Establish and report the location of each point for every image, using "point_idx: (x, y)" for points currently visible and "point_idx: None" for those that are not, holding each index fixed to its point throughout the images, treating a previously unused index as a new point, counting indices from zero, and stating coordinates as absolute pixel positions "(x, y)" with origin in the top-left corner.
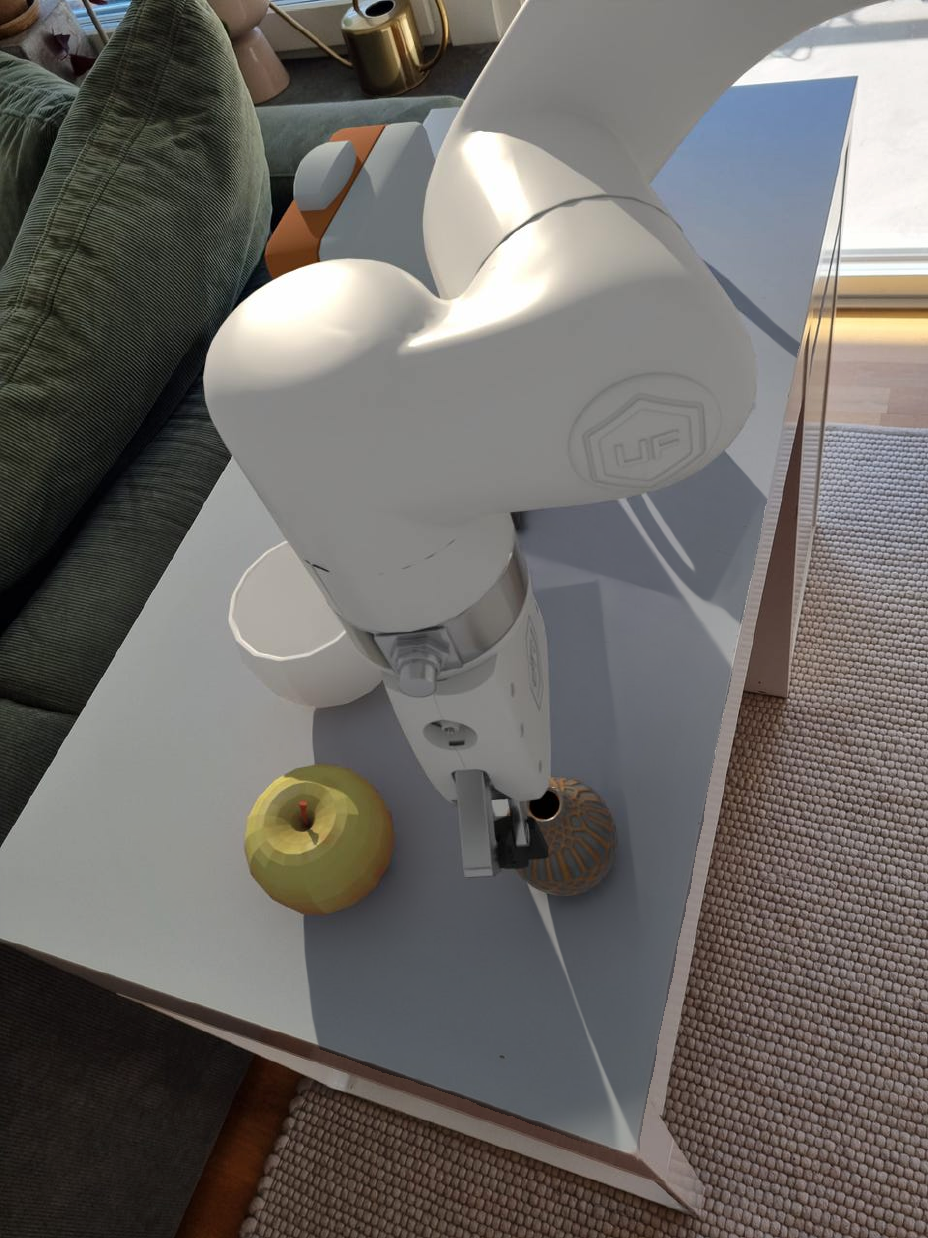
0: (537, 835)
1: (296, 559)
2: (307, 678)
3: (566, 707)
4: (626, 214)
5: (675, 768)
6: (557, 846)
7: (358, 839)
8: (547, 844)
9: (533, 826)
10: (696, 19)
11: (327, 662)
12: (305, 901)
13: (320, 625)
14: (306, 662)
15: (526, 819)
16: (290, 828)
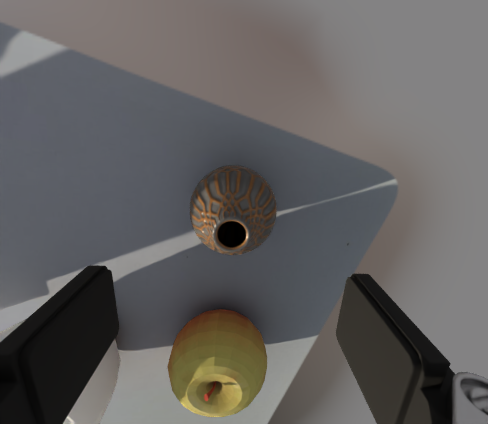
0: (424, 335)
1: None
2: (96, 403)
3: (117, 190)
4: None
5: (172, 112)
6: (261, 220)
7: (232, 354)
8: (359, 278)
9: (445, 365)
10: None
11: (80, 398)
12: (265, 372)
13: None
14: (81, 418)
15: (468, 405)
16: (220, 394)
